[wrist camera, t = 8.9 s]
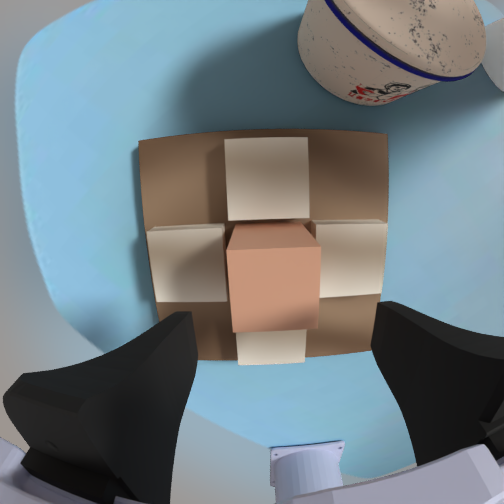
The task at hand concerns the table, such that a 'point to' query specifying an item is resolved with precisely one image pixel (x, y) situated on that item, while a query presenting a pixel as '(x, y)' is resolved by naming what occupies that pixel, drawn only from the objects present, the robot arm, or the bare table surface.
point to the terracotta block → (273, 277)
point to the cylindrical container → (495, 53)
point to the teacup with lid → (389, 45)
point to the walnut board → (267, 211)
